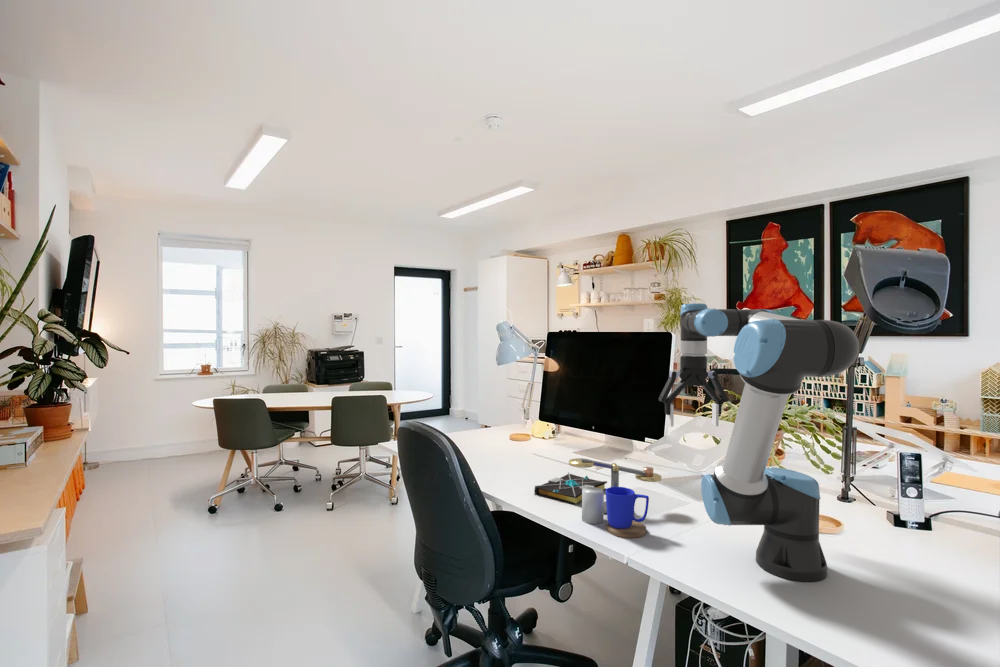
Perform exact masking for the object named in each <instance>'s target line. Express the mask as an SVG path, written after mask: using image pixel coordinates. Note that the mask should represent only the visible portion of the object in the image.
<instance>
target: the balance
mask: <svg viewBox="0 0 1000 667" xmlns="http://www.w3.org/2000/svg"><path fill="white" fill-rule="evenodd" d="M568 465H569V466H571V467H574V468H579V469H580V468H583V469H584V468H591V467H594V466H595V467H600V468H603V469H604V468H605V469H610V487H620V486H619V484H620V483H619V482H620V476H619V475H620V474H619V473H620V472H624V473H629V474H633V475H635V477H634V478H635V479H636V480H638V481H642V482H648V483H657V482H660V481H662V475H660V474H659V473H655V472H654V467H652V466H644V467H643V470H641V469H636V468H631V467H625V466H620V465H618V464H617V463H616V462H612V463H606V462H602V461H596V460H593V459H589V458H580V457H579V458H571V459H569V460H568ZM604 515H607V506H606V501H604Z"/></svg>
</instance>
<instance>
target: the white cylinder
mask: <svg viewBox="0 0 1000 667" xmlns="http://www.w3.org/2000/svg"><path fill="white" fill-rule="evenodd" d="M604 493H605V490H604V491H603V490H602V489H600V488H596V487H586V488H583V489H582V501H581V521H582V522H584V523H586V524H588V525H599V524H602V523H604V517H605V516H604V515H605V514H604V502H605V501H604V500H605V499H604V497H605V494H604Z"/></svg>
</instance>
